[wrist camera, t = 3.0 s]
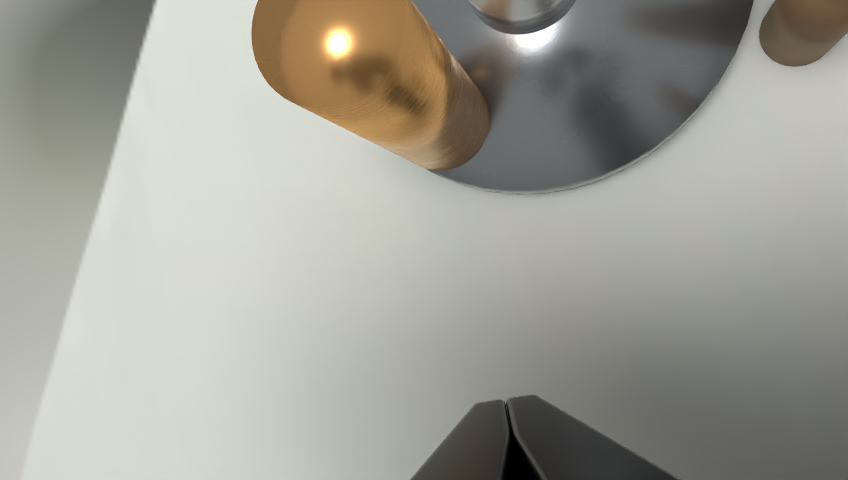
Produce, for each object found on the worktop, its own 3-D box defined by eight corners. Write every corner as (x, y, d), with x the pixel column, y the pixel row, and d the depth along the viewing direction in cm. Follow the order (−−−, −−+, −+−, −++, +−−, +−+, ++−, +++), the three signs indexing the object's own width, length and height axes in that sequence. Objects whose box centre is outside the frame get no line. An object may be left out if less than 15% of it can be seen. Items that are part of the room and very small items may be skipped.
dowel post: (826, -11, 20) (896, -99, 15) (843, 55, 20) (920, -12, 15) (752, 9, 20) (798, -69, 15) (768, 74, 20) (819, 15, 15)
